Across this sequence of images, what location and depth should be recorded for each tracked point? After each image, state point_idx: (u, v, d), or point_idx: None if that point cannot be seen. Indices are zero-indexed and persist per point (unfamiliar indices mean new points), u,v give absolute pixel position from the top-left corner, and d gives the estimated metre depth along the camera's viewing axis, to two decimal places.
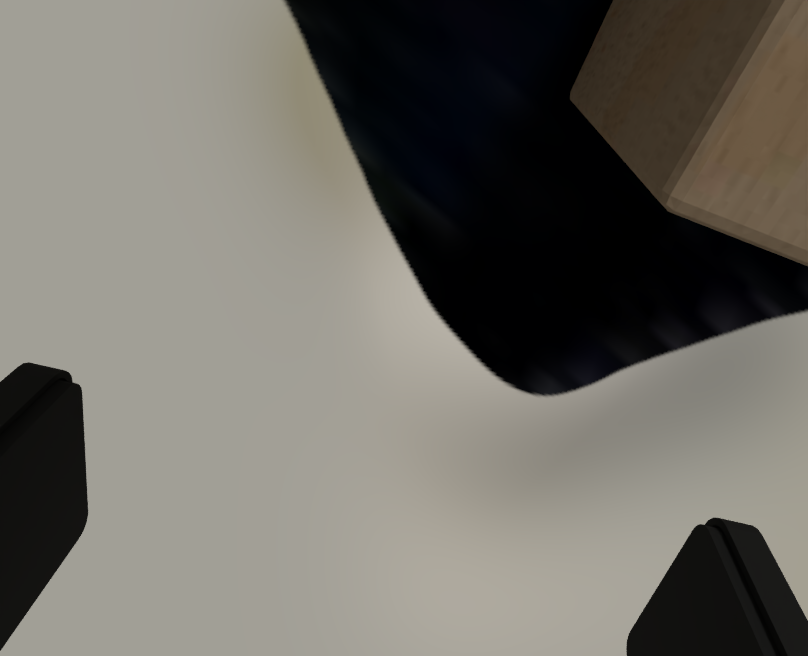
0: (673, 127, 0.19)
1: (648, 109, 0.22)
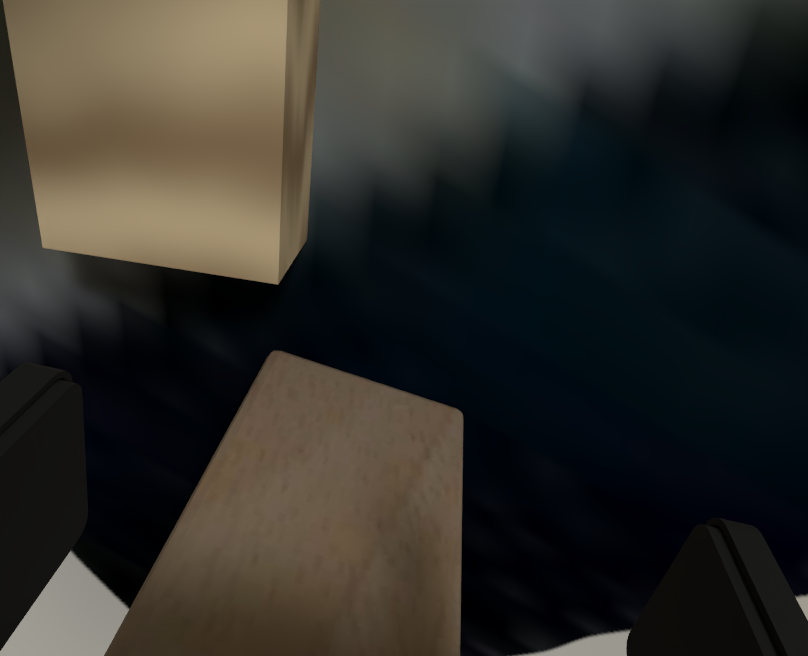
0: None
1: None
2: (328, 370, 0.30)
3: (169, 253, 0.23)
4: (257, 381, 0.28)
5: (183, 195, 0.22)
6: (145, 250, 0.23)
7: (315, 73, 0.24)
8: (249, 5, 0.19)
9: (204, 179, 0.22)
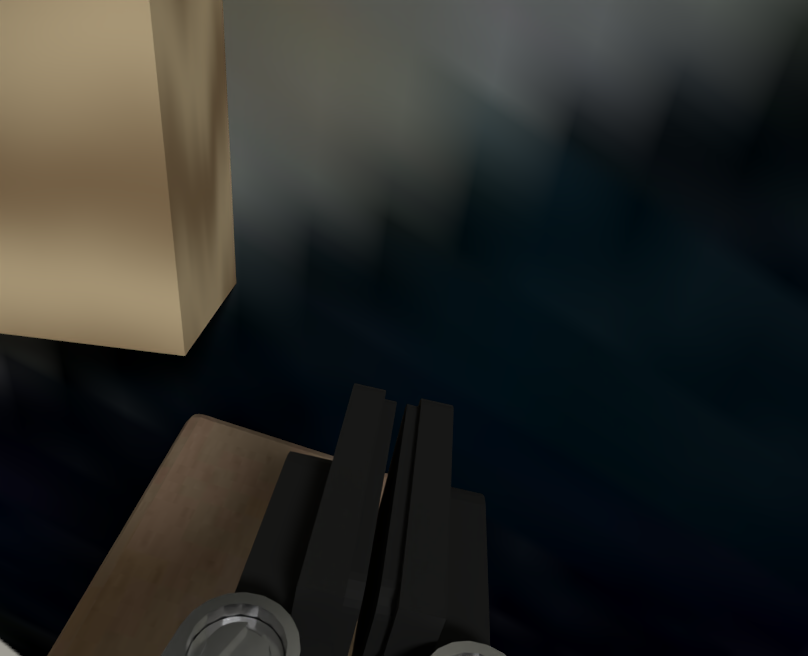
0: None
1: None
2: (259, 439, 0.25)
3: (41, 321, 0.18)
4: (166, 460, 0.23)
5: (47, 249, 0.17)
6: (10, 318, 0.18)
7: (224, 77, 0.19)
8: None
9: (71, 227, 0.16)
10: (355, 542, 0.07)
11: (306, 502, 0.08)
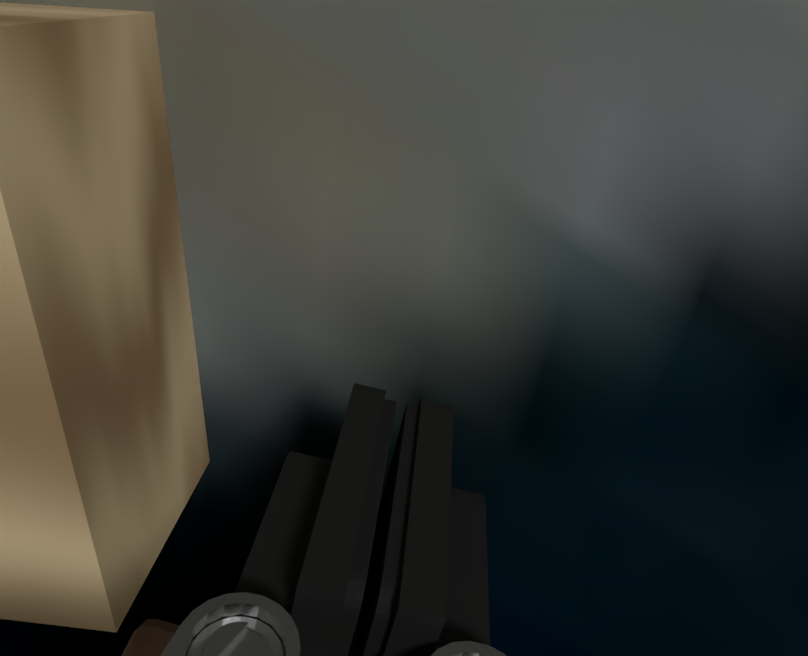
0: None
1: None
2: None
3: None
4: None
5: None
6: None
7: (173, 191, 0.12)
8: None
9: None
10: (354, 542, 0.07)
11: (306, 502, 0.08)
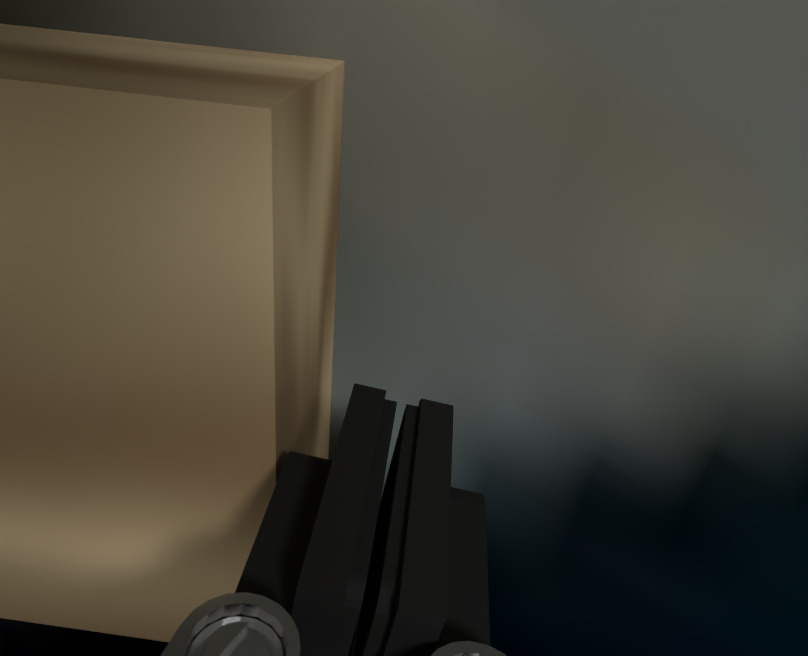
0: None
1: None
2: None
3: (61, 607, 0.12)
4: None
5: (74, 522, 0.11)
6: (14, 602, 0.12)
7: (337, 228, 0.13)
8: (173, 167, 0.07)
9: (112, 499, 0.10)
10: (355, 542, 0.07)
11: (307, 502, 0.08)
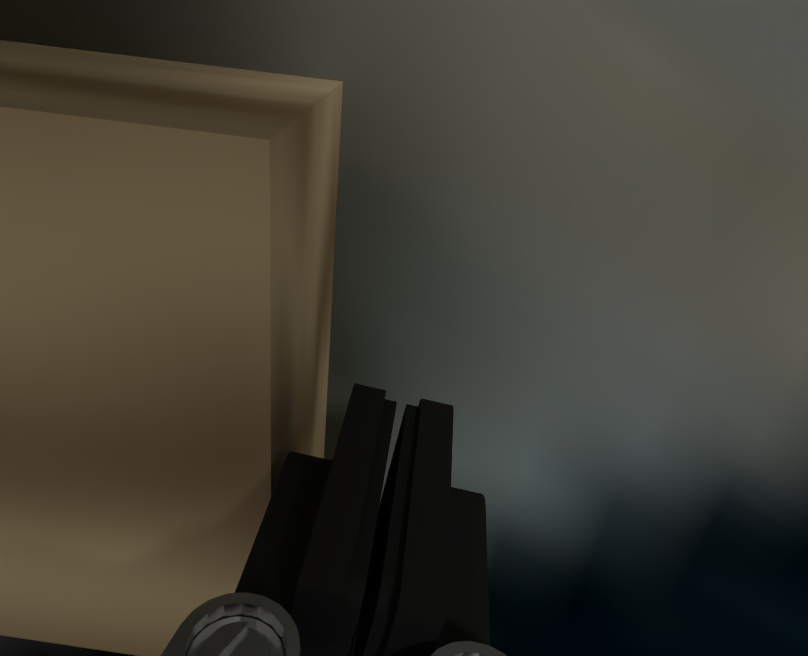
0: None
1: None
2: None
3: (54, 624, 0.12)
4: None
5: (68, 541, 0.11)
6: (7, 618, 0.12)
7: (333, 246, 0.13)
8: (172, 194, 0.07)
9: (107, 518, 0.10)
10: (355, 542, 0.07)
11: (307, 502, 0.08)
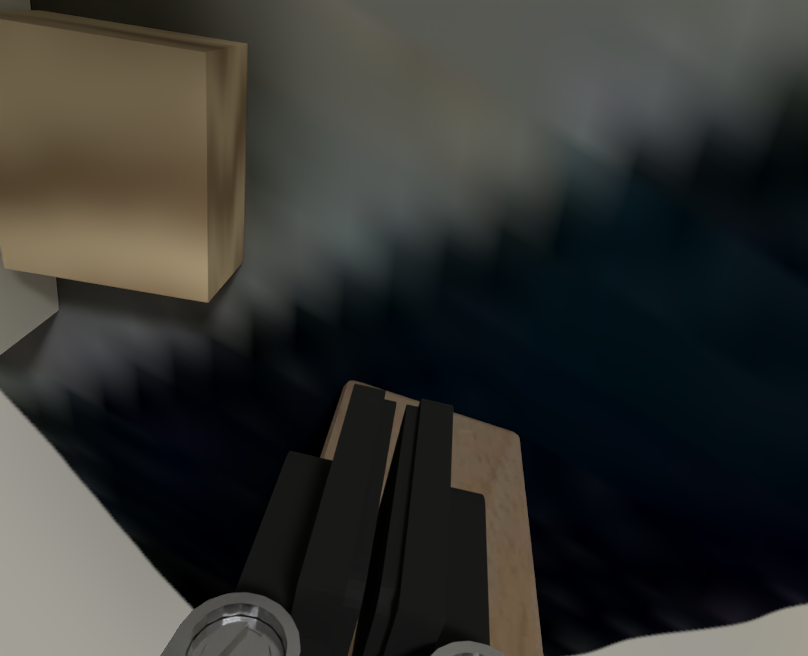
0: None
1: None
2: (399, 398, 0.33)
3: (113, 274, 0.27)
4: (340, 409, 0.31)
5: (124, 225, 0.26)
6: (93, 271, 0.27)
7: (245, 119, 0.28)
8: (174, 70, 0.23)
9: (142, 212, 0.26)
10: (355, 543, 0.07)
11: (306, 502, 0.08)
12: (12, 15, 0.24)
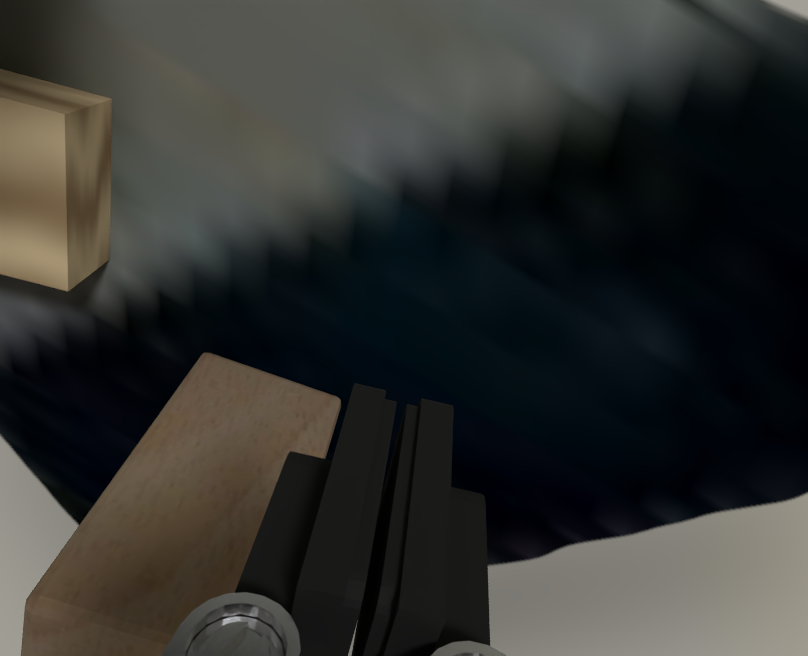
0: None
1: None
2: (243, 367, 0.42)
3: None
4: (189, 374, 0.40)
5: (4, 228, 0.34)
6: None
7: (110, 153, 0.37)
8: (41, 124, 0.31)
9: (17, 220, 0.34)
10: (355, 542, 0.07)
11: (307, 502, 0.08)
12: None
